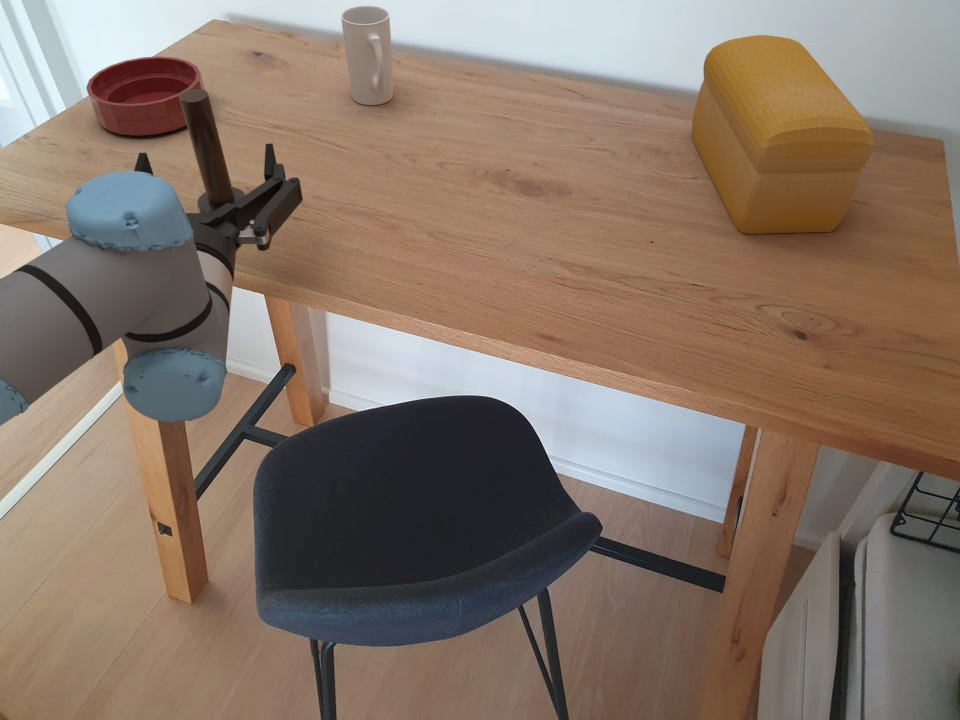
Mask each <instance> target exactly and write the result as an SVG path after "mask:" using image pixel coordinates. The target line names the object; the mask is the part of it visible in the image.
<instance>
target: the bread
mask: <svg viewBox="0 0 960 720" xmlns="http://www.w3.org/2000/svg"><path fill="white" fill-rule="evenodd" d="M702 69H703V81H702V82H701V85H700V89H699V91H698V95H697V99H696V102H695V106H694V111H693V116H692V125H691V139H692V142H693V144H694V146H695V149H696V151H697V153H698V155H699V157H700V159H701V161H702V163H703V165H704V167H705V169H706V171H707V173H708V175H709V177H710V179H711V181H712V184H713V186H714V188H715V189H716V192H717V193H718V196H719V198H720V200H721V201H722V203H723V206H724V207H725V209H726V212H727V214H728V216H729V218H730V220H731V222H732V223H733V225H734V226H735V228H736V229H737V230H738V231H739V232H740V233H741V234H745V235H762V234H763V235H766V234H769V235H770V234H802V233H804V234H806V233H830V232H834V231H835V230H836V228H837V227H838V225H839V224H840V223H841V222H842V220H843V219H844V217H845V216H846V213H847V212H848V210H849V207H850V205H851V202H852V199H853V197H854V194H855V191H856V188H857V186H858V182H859V179H860V175H861V174H860V172H861V170H862V169H863V168H864V167H865V166H866V164H867V163H868V162H869V160H870V158H871V156H872V155H873V152H874V147H875V141H874V137H873V134H872V131H871V128H870V127H869V125H868V123H867V122H866V120H865V119H864V118H863V116H862V114H861V113H860V112H859V110H858V109H856V107H855V106H854V105H853V104H852V102H851V101H850V100H849V99H848V98H847V96H846V95H845V94H844V93H843V91H842V90H841V89H840V88H839V87H838V86H837V84H836V83H835V82H834V81H833V79H832V78H831V77H830V76H829V75H828V74H827V72H826V71H825V70H824V69H823V68H822V66H820V64H819V63H818V62H817V60H816V59H815V57H813V56H812V54H811V53H810V52H809V51H808V49H807V48H805V46H804V45H803V44H802V43H801V42H799V41H797V40H795V39H793V38H788V37H783V36H777V35H768V34H759V35H757V34H755V35H749V36H742V37H735V38H732V39H729V40H726V41H724V42H721V43H718V44H717V45H715V46H713V47H712V48H711V49H710V50H709V52H708V53H707V54H706V56H705V59H704V61H703V68H702Z"/></svg>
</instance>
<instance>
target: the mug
mask: <svg viewBox="0 0 960 720" xmlns="http://www.w3.org/2000/svg"><path fill="white" fill-rule="evenodd" d="M340 14H341V15H340V19H341V28H342V35H343V42H344V49H345V56H346V63H347V65H346V66H347V72H348V79H349V87H350V94H351V97H352V99H353V101H354V102H355V103H357V104H359V105H364V106H379V105H384V104H387V103H388V102H390V101H391V100H392V99H393V97H394V76H393V75H394V74H393V57H392V56H393V53H392V35H391V33H392V32H391V20H390V12H389V11H388V10H387V9H385V8H383V7H381V6H377V5H375V6H374V5H357V6H353V7H349V8H346V9H345V10H344V11H342V13H340Z"/></svg>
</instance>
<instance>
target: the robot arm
mask: <svg viewBox="0 0 960 720" xmlns="http://www.w3.org/2000/svg"><path fill="white" fill-rule="evenodd" d="M264 148H265V149H264V150H265V152H264V165H263V166H264V167H263V177H264V182H263V183H261V184H260V185H258V186H257V187H255V188H254V189H252V190H251V191H250V192H248V193H246V194H245V196H244V197H242V198H241V199H239V200H238V201H236V202H235V203H233V204H229V203H226V204H225V205H223V206H222V207H220V208H219V209H217V210H216V211H205V212H201V213H200V212H186V211H185V208H184V206H183V204H182V202H181V200H180V197H179V196H178V193H177V191H176V190H175V189H174V187H173V186H172V184H171V183H169V182H168V181H167V180H166V179H164V178H162V177H160V176H156V175H154V171H153V168H152V166H151V163H150V160H149V156H148V154H147V152H139V153H138V155H137V158H136V161H135V162H136V163H135V166H134V170H127V171H124V170H123V171H116V172H109V173H106V174H103V175H100V176H97V177H94V178H92V179H90V180H87V181H86V182H84V183H83V184H81V185H80V186H78V187H77V188H76V190H75V192H74V194H73V195H71V196H70V197H69V198H68V200H67V202H66V206H65V214H66V219H67V221H68V224H67V226H68V230H69V232H70V234H72V235H70V236H69V237H68V238H66V239H64V240H63V241H61V242H60V243H57V244H56V245H55V246H53V247H51V248H50V249H48V250H46V251H45V252H43V253H41V254H40V255H38V256H36V257H35V258H33V259H31V260H30V261H28V262H27V263H25V264H23V265H21V266H20V267H19V268H17V269H15V270H13V271H12V272H10V273H9V274H7V275H5V276H3V277H0V427H1V426H2V425H4V424H6V423H7V422H9V421H10V420H12V419H14V418H15V417H18V416H19V415H21V414H24V413H25V412H26V411H27V410H28V409H29V407H30V406H31V405H32V404H34V403H36V401H38V400H39V399H40V398H42V397H43V396H44V395H45V394H46V393H48V392H50V390H52V389H53V388H54V387H56V386H57V385H58V384H60V383H61V382H62V381H63V380H65V379H66V378H68V377H69V376H70V375H72V374H73V373H74V372H75V371H77V370H79V369H80V368H81V367H82V366H84V365H85V364H87V363H88V362H89V361H90V360H92V359H94V357H96V356H97V355H98V354H100V353H102V352H103V351H104V350H106V349H107V348H108V347H110V346H112V345H113V344H115V342H117V341H118V340H120V339H121V341H122V343H123V345H124V347H125V350H126V351H125V352H126V356H127V360H126V363H125V364H123V370H122V374H123V385H122V390H123V394H124V398H125V400H126V402H127V403H128V404H129V405H130V406H131V407H132V409H134V411H136V412H138V413H139V414H140V415H142V416H144V417H146V418H148V419H150V420H151V419H152V420H153V421H158V422H161V423H172V424H173V423H175V424H176V423H179V422H192V421H195V420H198V419H201V418H203V417H205V416H207V415H208V414H209V413H211V412H212V411H213V410H214V409H215V408H216V407H217V405H218V404H219V402H220V400H221V398H222V393H223V388H224V383H225V379H226V377H227V374H228V367H227V354H228V344H229V343H228V342H229V330H230V317H231V309H232V308H231V306H232V298H233V288H234V287H233V286H234V277H235V268H236V260H237V259H236V257H237V251H238V250H239V249H240V248H241V247H242V245H256V248H257V250H258V251H260V252H265V251H267V250H269V249H270V248H271V243H272V239H273V237H274V235H275V234H276V233H277V232H278V231H279V229H280V228H281V227H282V226H283V225H284V224H285V223H286V221H287V220H288V219H289V218H290V216H291V215H292V214H293V213H294V212H295V211H296V209H297V208H298V207H299V206H300V204H301V203H302V202H303V200H304V199H303V192H302V185H301V181H300V178H299V177H289V179H287V176H286V172H285V166H284V164H283V163H277V158H276V153H275V148H274V144H273V143H265V147H264ZM226 218H228V220H227V219H226Z"/></svg>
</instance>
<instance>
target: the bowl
mask: <svg viewBox="0 0 960 720" xmlns="http://www.w3.org/2000/svg"><path fill="white" fill-rule="evenodd" d="M85 89H86V92H87V95H88V97H89V100H90V103H91V105H92V108H93V111H94V113H95V116H96V119H97V122H98V124H99V125H100V126H101V127H102V128H104V129H105V130H106V131H108V132H112V133H115V134H119V135H125V136H136V137H137V136H153V135H154V136H155V135H158V134H159V135H160V134H164V133H168V132H172V131H175V130H178V129H181V128H184V127H187V124H186V121H185V117H184V114H183V110H182V107H181V103H180V100H179V95H180V94H181V93H183V92H185V91H187V90H191V89H202V90H205V91H206V88H205V85H204V80H203V77H202V72H201V71H200V69H199V68H198V66H197V65H196V64H194V63H193V62H190V61H189V60H187V59H183V58H178V57H171V56H160V55H159V56H145V57H144V56H143V57H137V58H132V59H127V60H123V61H120V62H117V63H114V64H111V65H108V66H107V67H105V68H102V69H101V70H99V71H97V72H96V73H95V74H94V75H93V76H92V77H90V78H89V80H88V82H87V84H86V87H85Z"/></svg>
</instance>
